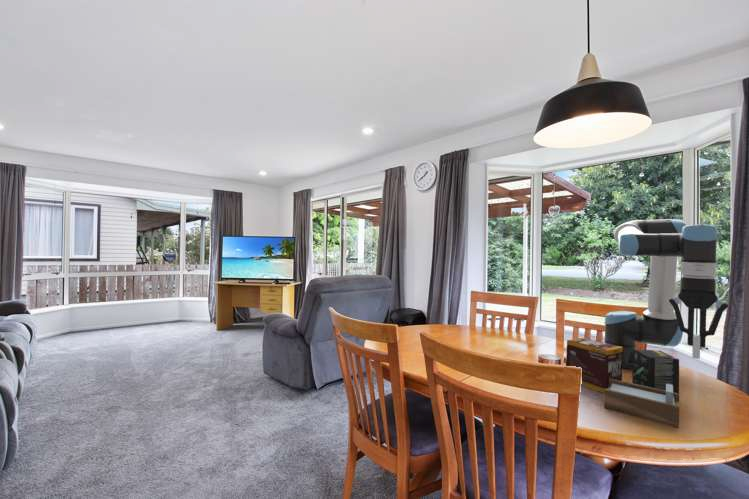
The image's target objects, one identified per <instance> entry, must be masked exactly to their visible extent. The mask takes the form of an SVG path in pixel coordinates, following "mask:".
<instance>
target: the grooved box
mask: <svg viewBox="0 0 749 499" xmlns="http://www.w3.org/2000/svg"><path fill="white" fill-rule="evenodd" d="M612 383H614V384H618V385H622V386H627V387H631V388H636V389H640V390H645V391H649V392H654V393H658V394H663V395H666V390H661V389H656V388H652V387H647V386H643V385H638V384H633V383H632V382H627V381H623V380H622V381H620V380H615V379H609V387H608V389H606V388H605V393H603V394H604V398H603V399H604V400H603V409H606V410H610V411H613V412H614V411H615V412H617V413H621V414H624V415H629V416H632V417H636V418H640V419H644V420H648V421H651V422H655V423H659V424H663V425H666V426H668V427H669V426H670V427H672V428H673V427H674V428H678V429H679V428H680V405H679V402H678V393H675V392H673V397H674V404H670V403H665V402H661V401H657V400H652V399H648V398H644V397H640V396H635V395H631V394H627V393H623V392H618V391H614V390H610V388H611V386H612Z"/></svg>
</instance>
